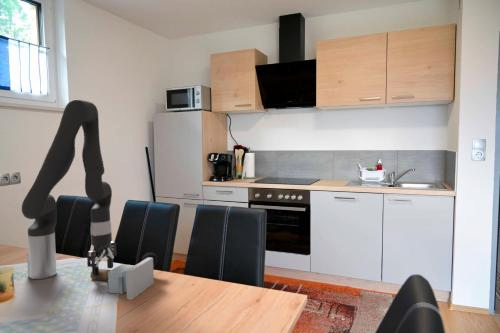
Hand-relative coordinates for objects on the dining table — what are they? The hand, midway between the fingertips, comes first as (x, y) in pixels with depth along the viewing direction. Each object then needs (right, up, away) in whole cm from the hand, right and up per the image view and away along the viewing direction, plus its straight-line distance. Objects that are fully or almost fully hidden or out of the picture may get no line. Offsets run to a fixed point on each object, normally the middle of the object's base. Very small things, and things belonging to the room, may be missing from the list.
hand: (103, 271), depth 134 cm
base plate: (+18, -3, -13) cm, 23 cm away
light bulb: (+19, -2, -1) cm, 19 cm away
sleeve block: (+12, -3, -11) cm, 16 cm away
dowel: (+2, -2, -1) cm, 3 cm away
